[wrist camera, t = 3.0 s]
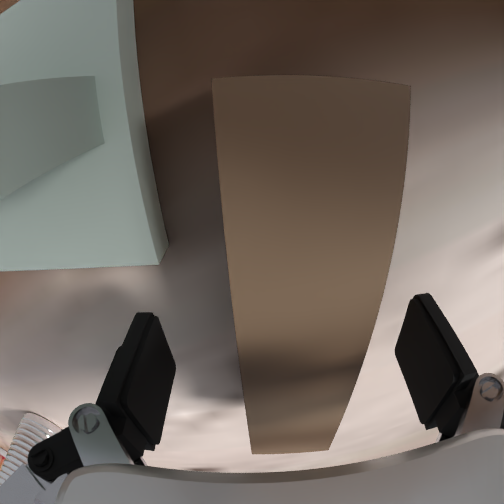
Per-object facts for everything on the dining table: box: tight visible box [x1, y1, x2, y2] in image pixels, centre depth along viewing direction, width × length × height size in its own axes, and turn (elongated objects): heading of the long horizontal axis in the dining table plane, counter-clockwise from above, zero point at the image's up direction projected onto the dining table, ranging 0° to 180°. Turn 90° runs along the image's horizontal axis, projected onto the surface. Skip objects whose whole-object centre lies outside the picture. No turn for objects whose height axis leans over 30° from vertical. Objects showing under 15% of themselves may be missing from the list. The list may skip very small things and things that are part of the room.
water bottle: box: [0, 413, 61, 486], centre depth 15 cm, size 7×7×25 cm
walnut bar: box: [211, 75, 411, 454], centre depth 11 cm, size 16×4×5 cm, turn 3°
